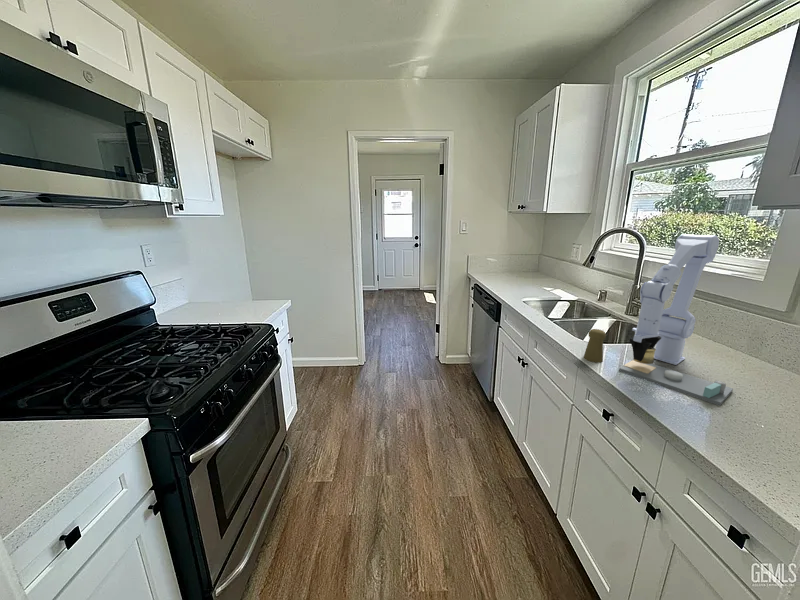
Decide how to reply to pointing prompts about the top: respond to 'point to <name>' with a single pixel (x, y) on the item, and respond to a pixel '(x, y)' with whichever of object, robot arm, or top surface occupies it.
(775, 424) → the top surface
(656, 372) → the post board
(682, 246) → the robot arm
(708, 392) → the lock lever
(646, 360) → the cap
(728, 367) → the top surface
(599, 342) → the pepper shaker
